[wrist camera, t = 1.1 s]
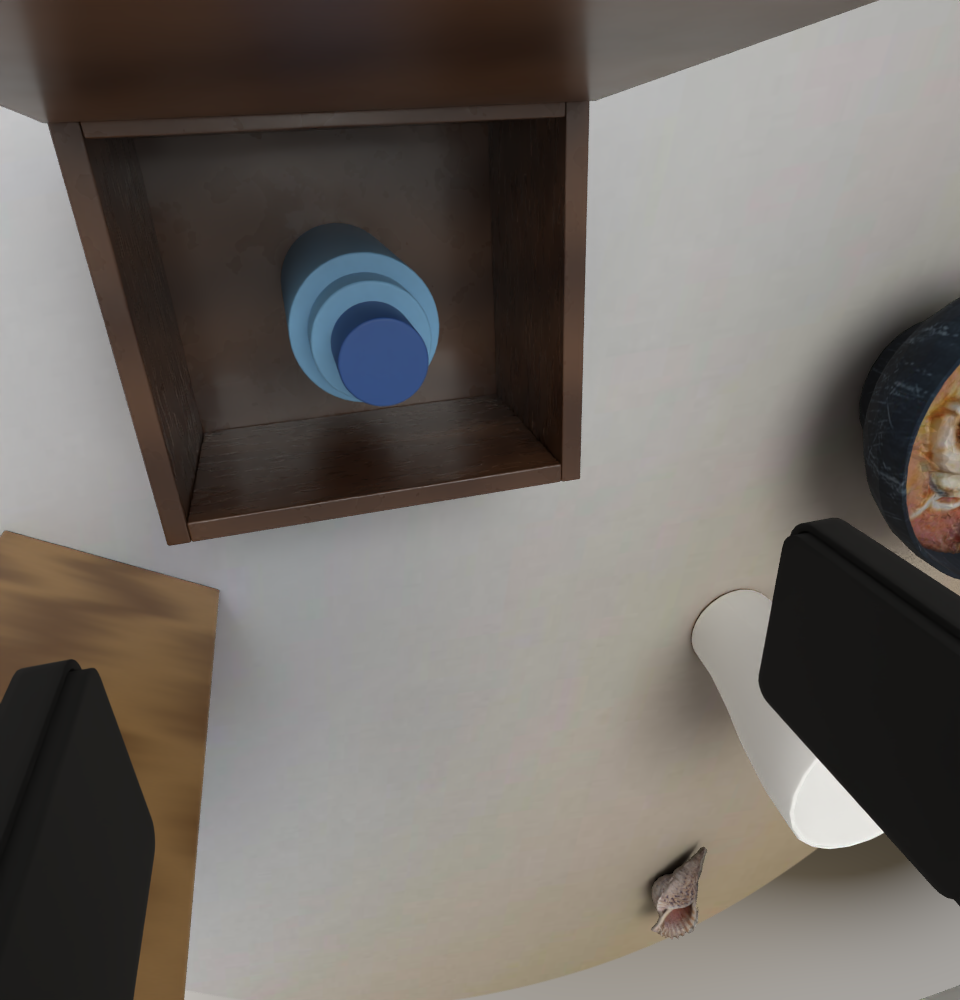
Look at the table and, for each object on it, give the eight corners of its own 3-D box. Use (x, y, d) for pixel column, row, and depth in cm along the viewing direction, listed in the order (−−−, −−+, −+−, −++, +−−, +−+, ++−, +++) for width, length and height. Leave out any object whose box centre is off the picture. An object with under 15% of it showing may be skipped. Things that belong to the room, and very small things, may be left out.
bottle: (262, 309, 31) (264, 406, 20) (309, 200, 30) (339, 238, 19) (366, 357, 33) (421, 469, 22) (414, 257, 32) (499, 322, 21)
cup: (686, 710, 51) (810, 877, 40) (640, 613, 46) (769, 773, 34) (811, 636, 52) (971, 781, 40) (780, 531, 46) (955, 663, 35)
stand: (-53, 693, 36) (-476, 1450, 15) (4, 529, 33) (-419, 1181, 12) (154, 732, 40) (43, 1362, 19) (220, 589, 37) (172, 1148, 17)
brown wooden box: (507, 401, 37) (580, 479, 29) (190, 444, 34) (167, 546, 25) (499, 100, 31) (590, 87, 22) (108, 116, 27) (42, 106, 19)
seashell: (648, 887, 63) (622, 894, 60) (713, 842, 59) (688, 848, 57) (676, 942, 60) (649, 952, 57) (746, 898, 56) (721, 907, 54)
